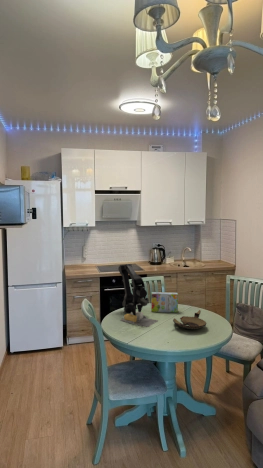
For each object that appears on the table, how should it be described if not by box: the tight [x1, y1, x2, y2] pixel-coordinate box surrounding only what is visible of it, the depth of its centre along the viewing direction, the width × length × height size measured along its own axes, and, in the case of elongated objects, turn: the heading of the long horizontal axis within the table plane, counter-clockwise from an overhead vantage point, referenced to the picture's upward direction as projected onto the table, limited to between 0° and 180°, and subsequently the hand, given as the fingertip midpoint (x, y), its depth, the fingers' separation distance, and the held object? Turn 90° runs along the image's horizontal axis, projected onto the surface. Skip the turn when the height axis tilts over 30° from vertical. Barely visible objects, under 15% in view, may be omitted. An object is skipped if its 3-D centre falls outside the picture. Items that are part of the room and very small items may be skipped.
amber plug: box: [123, 313, 137, 322], centre depth 227 cm, size 4×9×4 cm, turn 55°
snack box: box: [150, 291, 179, 313], centre depth 254 cm, size 21×6×15 cm, turn 84°
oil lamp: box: [172, 309, 207, 330], centre depth 220 cm, size 22×30×8 cm
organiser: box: [120, 315, 159, 328], centre depth 228 cm, size 23×16×3 cm
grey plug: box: [130, 310, 144, 319], centre depth 234 cm, size 4×9×4 cm, turn 55°
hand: (137, 315), depth 234 cm, fingers open, 6 cm apart
